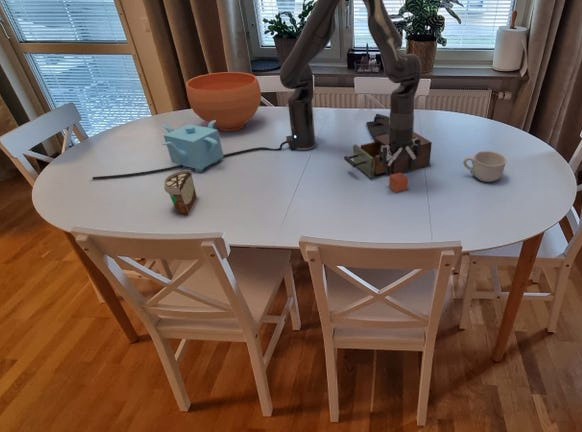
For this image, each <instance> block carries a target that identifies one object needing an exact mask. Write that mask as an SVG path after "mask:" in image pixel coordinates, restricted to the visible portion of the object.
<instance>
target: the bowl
mask: <svg viewBox="0 0 582 432" xmlns="http://www.w3.org/2000/svg"><path fill="white" fill-rule="evenodd" d="M185 88H186V95H187V100H188V103H189V106H190V107H191V109H192V111H193V113H194V114H195V115H197V116H198V117H199V118H200V119H201V120H202V121H204V122H206V123H208V124H209V123H210V122H211V121H213V120H216V122H215V123H214V127H217V128H218V129H219V130H220V131H222V132H223V131H224V132H234V131H239V130H241V129H243V128H244V127H245V125H246V123H247V122H249V120H251V119H252V118H253V117H254V116H255V114H256V113H257V111H258V109H259V107H260V105H261V101H262V92H261V91H262V90H261V86H260V83H259V80H258V78H257V77H256V75H254V74H251V73H249V72H241V71H223V72H214V73H207V74H201V75H198V76H195V77H193V78H190V79H189V80H187V81H186V82H185Z"/></svg>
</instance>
